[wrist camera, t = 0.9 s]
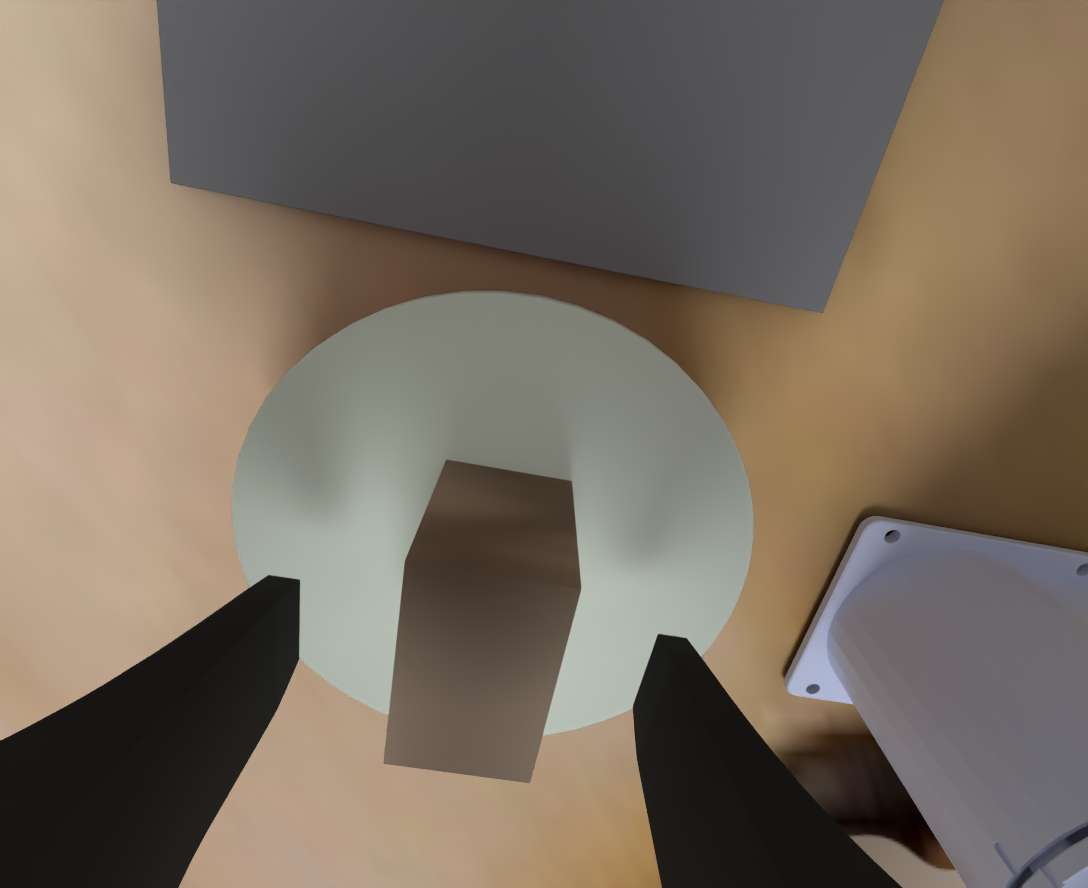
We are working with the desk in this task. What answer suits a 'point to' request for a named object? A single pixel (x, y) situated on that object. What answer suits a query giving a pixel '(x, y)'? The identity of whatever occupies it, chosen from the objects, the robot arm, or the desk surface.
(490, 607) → the lid
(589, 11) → the mat
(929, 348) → the desk surface
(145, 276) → the desk surface
